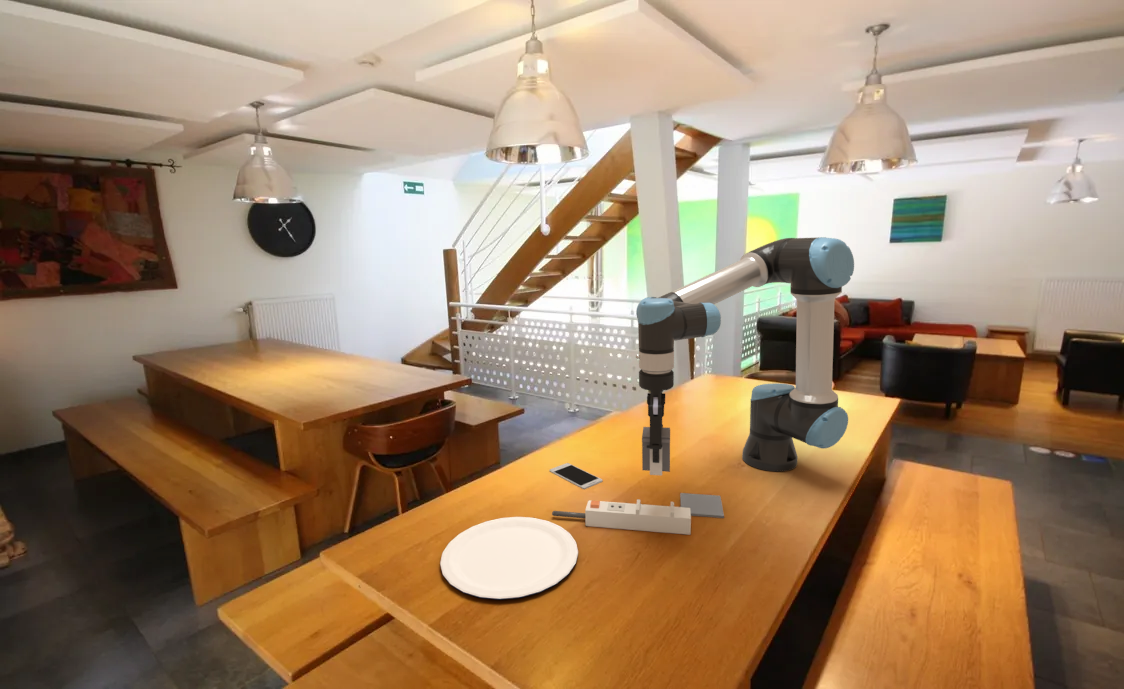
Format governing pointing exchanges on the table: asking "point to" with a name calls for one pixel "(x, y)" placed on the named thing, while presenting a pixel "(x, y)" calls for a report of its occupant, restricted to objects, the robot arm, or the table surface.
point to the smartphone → (576, 476)
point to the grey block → (664, 449)
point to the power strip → (634, 516)
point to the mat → (702, 505)
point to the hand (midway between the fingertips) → (656, 467)
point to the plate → (509, 558)
